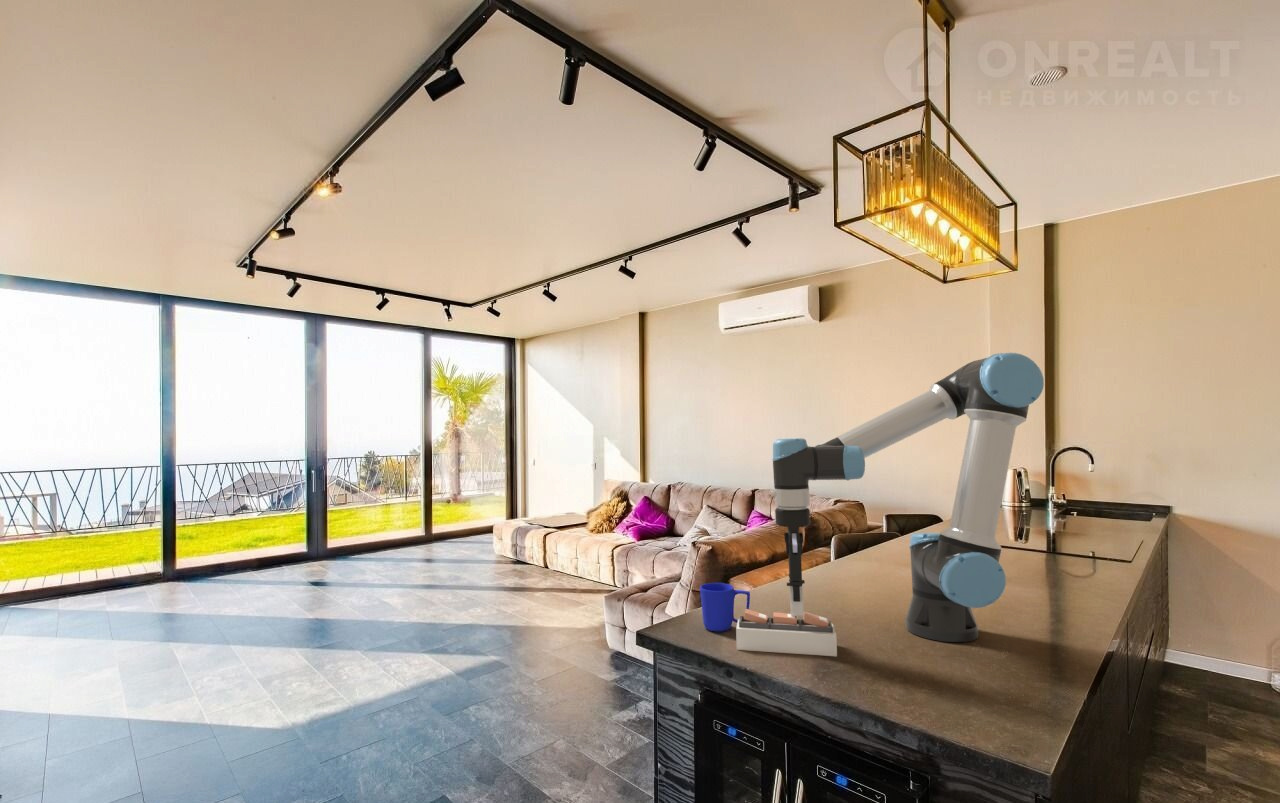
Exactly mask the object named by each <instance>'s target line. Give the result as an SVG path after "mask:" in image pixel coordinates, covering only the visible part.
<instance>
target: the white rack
mask: <svg viewBox="0 0 1280 803" xmlns="http://www.w3.org/2000/svg"><path fill="white" fill-rule="evenodd" d="M737 620H738V622H737V623H736V628H735V634H736V636H735V637H736V638H735V639H736V640H735V641H736V642H735V643H736V651H748V652H749V651H750V652H754V651H755V652H765V653H766V652H767V653H768V652H769V653H781V654H783V653H784V654H797V655H811V656H825V657H838V646H837V632H836V629H835V625H834V624H833V623H832V622H831V620H828V622H829V625H828V627H818V626H815V625H812V624H808V623H805V622H804V619H803V618H802V619H801V618H797V625H789V624H779V623H773V617H767V623H766V624H764V623H755V622H752V621H749V620H746V619H744V615H743V616H741V615H740V616H739V618H737Z"/></svg>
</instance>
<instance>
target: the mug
mask: <svg viewBox="0 0 1280 803" xmlns="http://www.w3.org/2000/svg"><path fill="white" fill-rule="evenodd" d="M699 590H700V599H701V600H700V602H701V610H702V611H701V612H702V622H703V626H704V628H705V629H706V630H708V631H710V632H718V633H719V632H726V631H728V630H730V629H731V627H732V624H733V622H734V623H736V624H737V622H738V619H736V618H735V616H734V614H735V613H734V612H735V597H736V595H739V594H740V595H742V594H743V595H746V608H745V609H749V610H750V604H751V602H750V601H751V600H750V599H751V594H750V591H748V590H739V589H735V588H734V586H733V585H732V584H728V583H724V582H709V583H705V584H701V585H700V587H699Z"/></svg>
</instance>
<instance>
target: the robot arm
mask: <svg viewBox="0 0 1280 803" xmlns="http://www.w3.org/2000/svg"><path fill="white" fill-rule="evenodd" d="M1044 380H1045V379H1044V375H1043V373H1042V370H1041V368H1040V367H1039V366H1038V365H1037V363H1035V361H1034V360H1032V359H1031V358H1030V357H1028V356H1026V355H1023V354H1021V353H1017V352H1000V353H995V354H992V355H990V356H988V357H984V358H981V359H978V360H973V361H971V362H968V363H967V364H965V365H962V367H960V368H958V369H957V370H955V371H954V372H952V373H950V374H949V375H947V376H945V377H944V378H942V379H940V380H938V381H937V382H934V383H932V384H931V385H930V386H929V390H928V391H926V392H924V393H922V394H920V395H917V396H916V397H914V398H912V399H909V400H908V401H905V402H904V403H902V404H899V405H898V406H896V407H893V408H892V409H890V410H888V411H886V412H883V413H882V414H880V415H878V416H876V417H874V418H872V419H870V420H868V421H866V422H864V423H862V424H860V425H858V426H856V427H854V428H852V429H850V430H848V431H846V432H843V433H842V434H840V435H838V436H836V437H835V438H833V439H830V440H828V441H826V442H824V443H822V444H817V445H814V446H809V445H808V444H807V439H805V438H802V437H799V438H779V439H778V438H777V439H775V440H774V441H773V442H772V443H773V444H772V470H773V485H774V486H773V489H774V492H772V493H771V497H774V504H775V506H776V509H775V510H774V511H775V514H774V516H775V524H776V526H778V527H783V528H784V527H787V532H783V534H784V535H783V536H784V542H785V553H786V555H787V556H788V578H789V579H788V582H786V586H787V587H789V604H790V614H791V616H797V617H803V616H804V612H805V611H804V596H803V585H804V584H805V583H806V582H805V579H803V573H802V572H803V571H802V555H804V554H803V543H804V534H803V532H800V528H804V527H808V526H810V525H811V510H810V509H809V508H808V507H809V506H810V505H811V501H810V486H809V482H810V481H831V480H832V481H838V480H839V481H850V480H860V479H862V478H863V476H864V475H865V471H866V470H865V469H866V462H865V459H866V458H867V457H870V456H872V455H873V454H876V453H878V452H880V451H882V450H884V449H886V448H888V447H890V446H892V445H894V444H896V443H899V442H900V441H903V440H904V439H906V438H908V437H911V436H913V435H915V434H917V433H919V432H921V431H923V430H925V429H927V428H929V427H932V426H933V425H935V424H937V423H939V422H942V421H943V420H946V419H948V420H955V419H957V418H959V417H962V416H963V415H966V416H967V417H968V418H969V425H968V429H967V434H966V440H965V445H964V451H963V455H962V460H961V461H962V462H961V466H960V470H959V471H960V472H959V474H958V475H959V476H958V481H957V487H956V491H955V497H954V502H953V507H952V513H951V517H950V523H949V525H948V527H947V528H945V529H943V530H942V531H940V532H916V533H913V534H911V535H910V538H909V539H910V542H909V543H910V544H909V549H910V550H909V551H910V569H911V571H910V572H911V587H912V588H911V589H912V597H911V600H910V603H909V605H908V606H909V607H908V610H907V614H906V617H905V628H906V630H907V631H908V632H910V633H911V634H914V635H916V636H919V637H921V638H924V639H928V640H933V641H938V642H948V643H949V642H950V643H966V642H972V641H975V640H977V639H978V638H979V626H978V623H977V621H976V618H975V616H974V613H973V610H972V609H977V608H979V609H980V608H984V607H985V608H986V607H988V606H990V605H992V604H993V603H995V602H997V601H998V599H1000V598H1001V596H1002V595H1003V593H1004V591H1005V589H1006V585H1007V584H1006V583H1007V579H1006V573H1005V571H1004V569H1003V567H1002V565H1001V564H1000V558H1001V553H1002V546H1001V545H1000V543H999V542H998V541H997V539H996V532H997V527H998V522H999V517H1000V511H1001V507H1002V500H1003V498H1004V497H1003V496H1004V491H1005V485H1006V480H1007V477H1008V471H1009V466H1010V460H1011V454H1012V451H1013V450H1012V449H1013V444H1014V440H1015V435H1016V434H1015V433H1016V429H1017V428H1018V426H1020V425H1022V424H1023V423H1025V422H1026V421H1027V418H1028V412H1029V409H1030V408H1029V407H1030V405H1031V404H1033V403H1034V402H1035V401H1037V400H1038V399H1039V397H1041V394H1042V393H1043V390H1044V386H1045V383H1044V382H1045V381H1044Z"/></svg>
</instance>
